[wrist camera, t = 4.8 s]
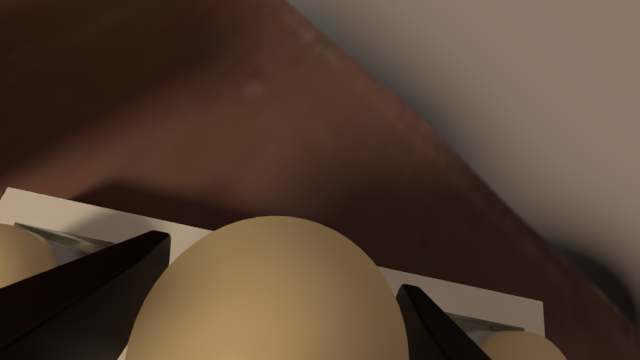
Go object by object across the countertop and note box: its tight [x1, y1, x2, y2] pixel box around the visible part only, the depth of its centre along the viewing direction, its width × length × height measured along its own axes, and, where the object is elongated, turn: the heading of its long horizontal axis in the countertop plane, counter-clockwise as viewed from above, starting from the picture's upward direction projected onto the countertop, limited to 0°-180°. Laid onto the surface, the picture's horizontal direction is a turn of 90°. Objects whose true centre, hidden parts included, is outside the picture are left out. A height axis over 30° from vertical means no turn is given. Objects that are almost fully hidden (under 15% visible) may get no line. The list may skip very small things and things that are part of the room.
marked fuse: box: [125, 216, 409, 360], centre depth 9 cm, size 3×3×10 cm
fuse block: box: [0, 187, 545, 360], centre depth 12 cm, size 6×20×4 cm, turn 79°
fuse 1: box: [0, 223, 91, 288], centre depth 11 cm, size 3×3×4 cm
